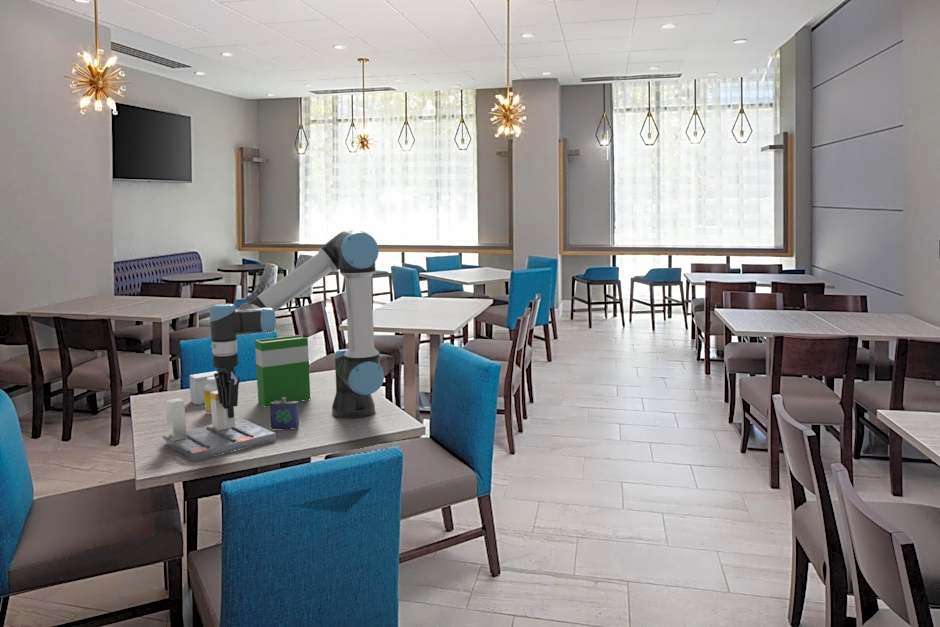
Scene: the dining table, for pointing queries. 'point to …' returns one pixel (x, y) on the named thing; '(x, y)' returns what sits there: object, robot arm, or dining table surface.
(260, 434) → the grey slotted tray
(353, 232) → the robot arm
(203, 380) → the skincare box
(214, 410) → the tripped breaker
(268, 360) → the hardback book
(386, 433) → the dining table surface
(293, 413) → the flask
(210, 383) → the supplement bottle
